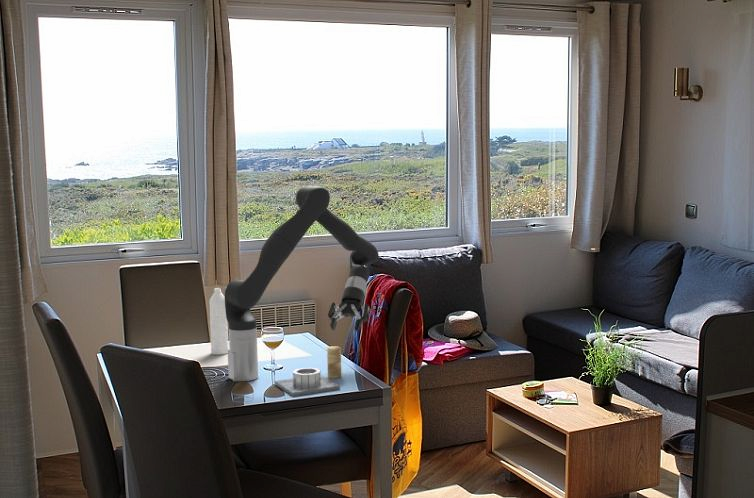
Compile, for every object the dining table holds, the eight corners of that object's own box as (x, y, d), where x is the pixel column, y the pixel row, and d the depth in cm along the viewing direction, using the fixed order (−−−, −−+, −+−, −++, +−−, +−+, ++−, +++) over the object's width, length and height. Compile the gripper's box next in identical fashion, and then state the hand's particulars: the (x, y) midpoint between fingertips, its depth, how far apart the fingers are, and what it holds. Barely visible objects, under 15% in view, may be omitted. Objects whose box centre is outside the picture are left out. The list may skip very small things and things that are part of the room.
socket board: (293, 396, 270) (292, 380, 269) (274, 384, 284) (274, 369, 283) (339, 389, 277) (339, 373, 276) (319, 378, 291) (319, 362, 291)
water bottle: (212, 355, 326) (209, 289, 323) (210, 351, 332) (208, 287, 329) (235, 353, 328) (233, 288, 325) (233, 350, 334) (231, 285, 332)
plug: (331, 379, 289) (330, 349, 288) (325, 376, 293) (324, 347, 292) (343, 377, 292) (343, 348, 290) (338, 374, 296) (337, 345, 294)
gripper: (333, 285, 310) (322, 322, 300) (371, 286, 306) (361, 324, 296) (338, 297, 316) (328, 334, 306) (375, 298, 311) (366, 336, 302)
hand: (344, 329), depth 301 cm, fingers open, 8 cm apart
